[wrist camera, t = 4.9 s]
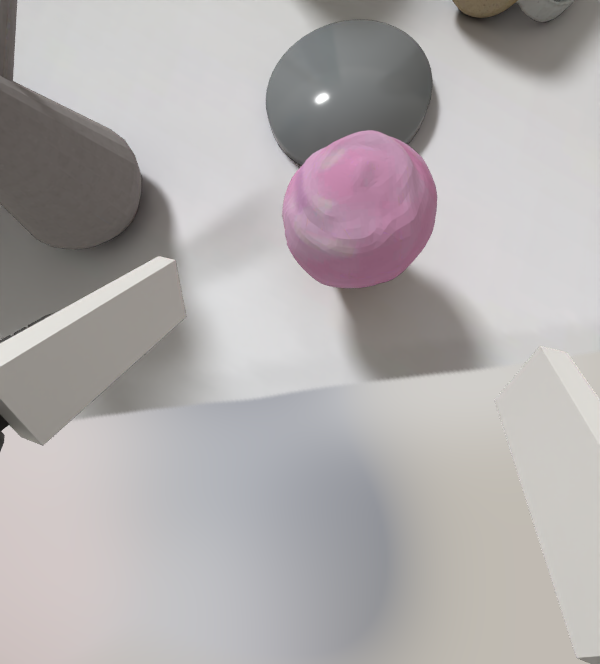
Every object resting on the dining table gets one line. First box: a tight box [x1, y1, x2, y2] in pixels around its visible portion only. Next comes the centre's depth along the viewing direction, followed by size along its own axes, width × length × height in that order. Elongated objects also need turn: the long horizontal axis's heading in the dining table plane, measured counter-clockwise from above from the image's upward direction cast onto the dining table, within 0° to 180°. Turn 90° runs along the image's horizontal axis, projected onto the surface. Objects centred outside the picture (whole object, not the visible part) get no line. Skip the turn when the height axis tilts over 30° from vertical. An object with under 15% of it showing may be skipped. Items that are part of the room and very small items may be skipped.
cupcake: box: [282, 130, 437, 288], centre depth 18 cm, size 9×9×10 cm
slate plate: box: [266, 20, 432, 165], centre depth 25 cm, size 14×14×1 cm
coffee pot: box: [0, 0, 141, 249], centre depth 20 cm, size 21×12×15 cm, turn 148°
